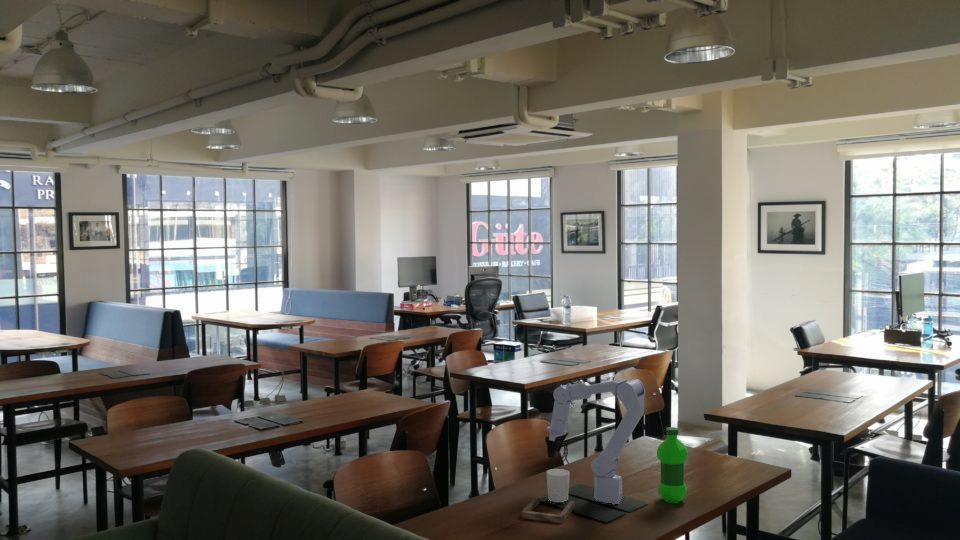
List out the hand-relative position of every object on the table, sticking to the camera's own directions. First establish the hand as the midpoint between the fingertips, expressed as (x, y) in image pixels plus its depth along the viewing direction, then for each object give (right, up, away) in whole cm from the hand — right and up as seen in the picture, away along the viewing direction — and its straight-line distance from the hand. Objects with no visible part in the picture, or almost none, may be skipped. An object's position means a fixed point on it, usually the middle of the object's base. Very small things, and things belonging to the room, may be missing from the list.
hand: (553, 454), depth 279 cm
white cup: (+1, -14, -10) cm, 17 cm away
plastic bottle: (+40, -13, -12) cm, 44 cm away
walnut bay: (-4, -14, -21) cm, 26 cm away
